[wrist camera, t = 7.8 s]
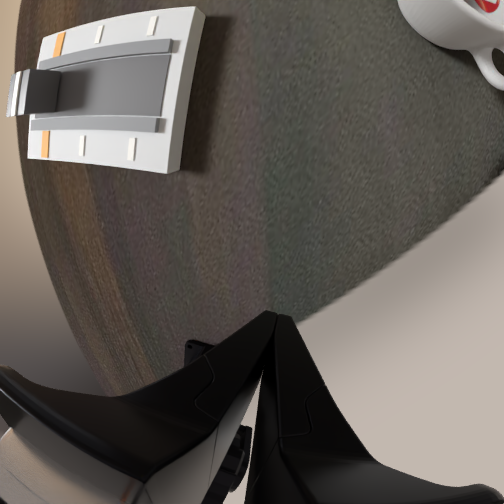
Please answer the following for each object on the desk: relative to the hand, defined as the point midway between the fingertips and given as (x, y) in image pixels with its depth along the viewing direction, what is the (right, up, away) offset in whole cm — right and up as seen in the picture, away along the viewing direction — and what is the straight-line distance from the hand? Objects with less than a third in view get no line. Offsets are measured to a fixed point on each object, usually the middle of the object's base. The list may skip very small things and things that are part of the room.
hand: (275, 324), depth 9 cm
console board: (-13, +15, +10) cm, 22 cm away
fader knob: (-18, +16, +8) cm, 25 cm away
